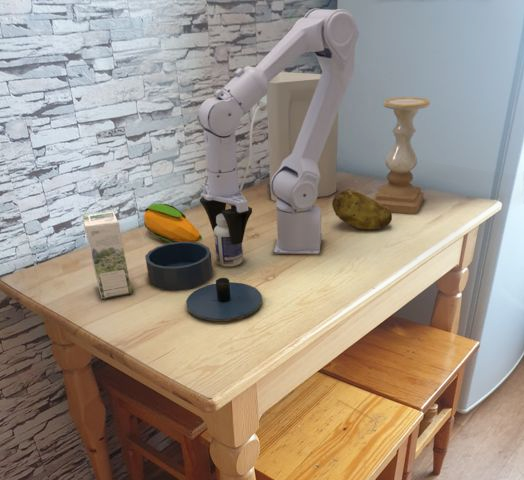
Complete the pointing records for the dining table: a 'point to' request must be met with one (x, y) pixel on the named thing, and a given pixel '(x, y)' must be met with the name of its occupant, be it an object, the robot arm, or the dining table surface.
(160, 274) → the pot
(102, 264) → the syrup box
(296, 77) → the paper bag
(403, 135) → the candle holder
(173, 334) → the dining table surface
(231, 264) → the pill bottle
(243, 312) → the lid
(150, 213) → the corn
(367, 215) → the potato
